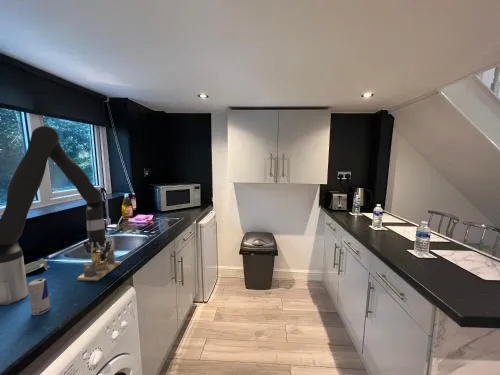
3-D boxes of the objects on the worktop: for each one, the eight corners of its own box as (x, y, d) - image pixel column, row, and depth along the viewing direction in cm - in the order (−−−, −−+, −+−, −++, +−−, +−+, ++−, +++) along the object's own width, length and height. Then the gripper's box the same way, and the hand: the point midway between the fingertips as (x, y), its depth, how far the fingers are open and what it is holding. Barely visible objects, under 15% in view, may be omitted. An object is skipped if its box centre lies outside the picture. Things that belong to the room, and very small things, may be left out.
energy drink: (54, 306, 93) (50, 277, 92) (42, 315, 88) (38, 284, 86) (39, 307, 93) (35, 278, 92) (27, 316, 88) (23, 285, 86)
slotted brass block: (99, 259, 124) (98, 250, 123) (106, 259, 124) (105, 250, 123) (92, 263, 119) (91, 254, 118) (99, 263, 119) (99, 254, 118)
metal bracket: (48, 254, 133) (41, 264, 120) (53, 263, 134) (46, 274, 121) (16, 266, 126) (4, 279, 113) (21, 276, 128) (11, 289, 115)
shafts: (89, 268, 113) (88, 261, 113) (85, 268, 113) (84, 261, 113) (112, 254, 130) (111, 247, 130) (108, 254, 130) (108, 247, 130)
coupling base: (98, 280, 113) (96, 263, 112) (77, 280, 113) (75, 263, 112) (120, 263, 131) (119, 248, 130) (102, 263, 131) (101, 248, 130)
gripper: (76, 230, 116) (80, 263, 118) (104, 229, 115) (108, 263, 117) (87, 225, 123) (91, 257, 125) (114, 225, 123) (117, 257, 125)
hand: (99, 260), depth 121 cm, fingers closed on slotted brass block, 4 cm apart
